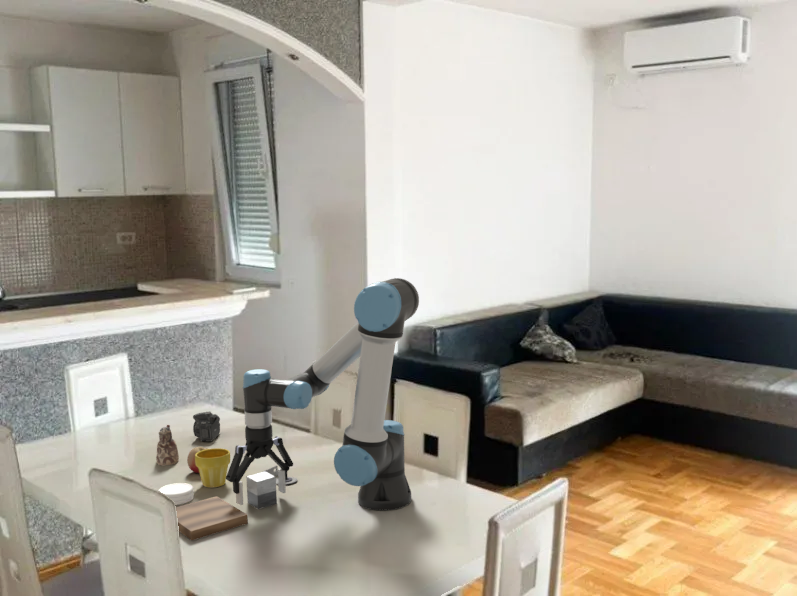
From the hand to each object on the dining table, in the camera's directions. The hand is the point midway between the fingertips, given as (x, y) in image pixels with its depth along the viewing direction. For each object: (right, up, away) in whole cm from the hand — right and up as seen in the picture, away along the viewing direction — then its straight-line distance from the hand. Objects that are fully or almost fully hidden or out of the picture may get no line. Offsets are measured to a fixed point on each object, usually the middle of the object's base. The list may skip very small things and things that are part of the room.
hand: (261, 497), depth 229 cm
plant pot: (-17, 0, +17) cm, 24 cm away
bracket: (+3, 0, +19) cm, 19 cm away
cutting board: (-13, -4, -12) cm, 18 cm away
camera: (-31, +5, +65) cm, 72 cm away
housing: (0, -2, 0) cm, 2 cm away
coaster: (-26, -2, +5) cm, 26 cm away
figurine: (-38, +2, +39) cm, 54 cm away
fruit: (-24, +1, +28) cm, 37 cm away
